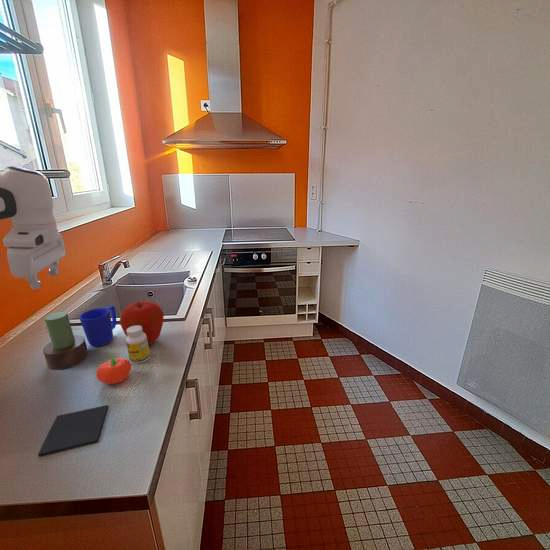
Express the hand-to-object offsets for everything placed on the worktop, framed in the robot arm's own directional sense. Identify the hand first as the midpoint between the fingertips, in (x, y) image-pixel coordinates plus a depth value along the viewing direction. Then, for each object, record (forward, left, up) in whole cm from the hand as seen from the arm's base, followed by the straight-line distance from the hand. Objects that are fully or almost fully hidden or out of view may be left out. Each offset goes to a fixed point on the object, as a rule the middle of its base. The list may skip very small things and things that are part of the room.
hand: (45, 281), depth 84 cm
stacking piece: (+2, -5, -18) cm, 18 cm away
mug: (+10, +4, -23) cm, 25 cm away
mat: (+12, -35, -23) cm, 43 cm away
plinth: (+2, -5, -23) cm, 23 cm away
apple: (+23, -3, -23) cm, 33 cm away
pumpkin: (+17, -20, -23) cm, 35 cm away
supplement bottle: (+22, -12, -23) cm, 34 cm away
